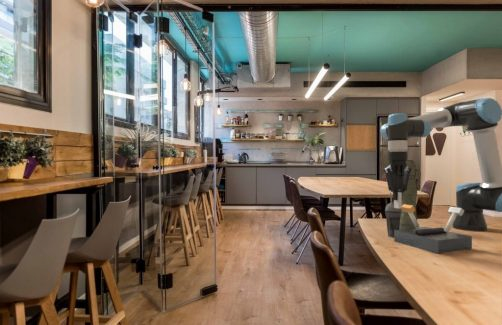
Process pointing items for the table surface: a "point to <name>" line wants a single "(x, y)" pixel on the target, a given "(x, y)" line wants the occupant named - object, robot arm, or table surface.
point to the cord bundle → (429, 231)
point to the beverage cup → (392, 218)
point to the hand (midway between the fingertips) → (397, 207)
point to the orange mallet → (410, 213)
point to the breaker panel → (433, 240)
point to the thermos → (410, 196)
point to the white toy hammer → (453, 217)
